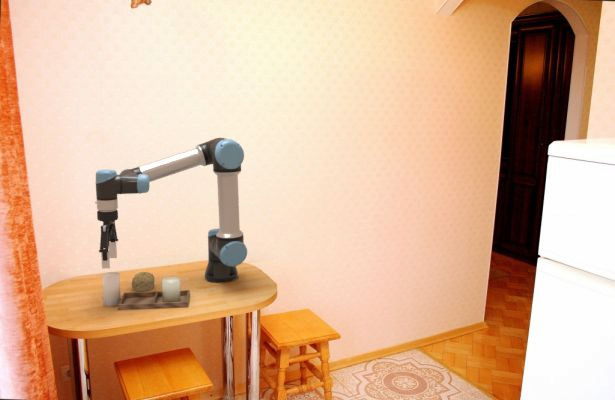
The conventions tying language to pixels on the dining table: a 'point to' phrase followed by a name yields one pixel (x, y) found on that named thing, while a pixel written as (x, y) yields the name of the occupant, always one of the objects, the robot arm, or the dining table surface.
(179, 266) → the dining table surface
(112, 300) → the white rounded tapered cylinder
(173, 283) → the white egg-shaped capsule
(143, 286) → the decorative item
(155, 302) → the tray
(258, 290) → the dining table surface
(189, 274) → the dining table surface
